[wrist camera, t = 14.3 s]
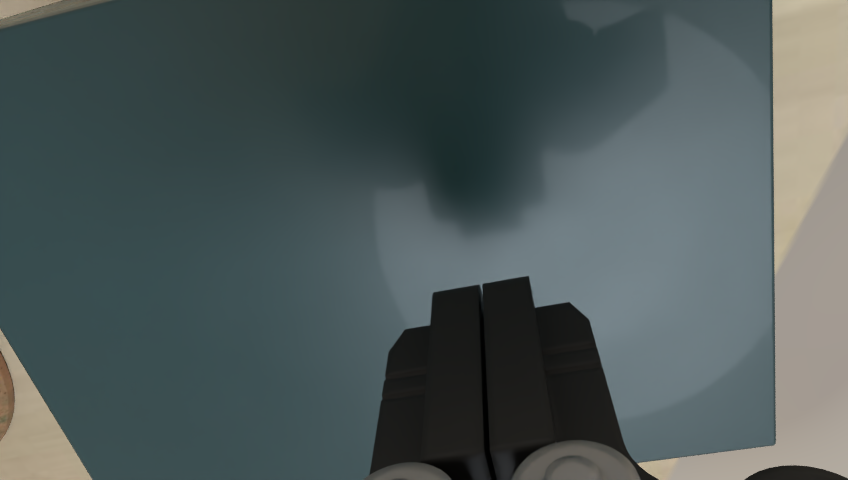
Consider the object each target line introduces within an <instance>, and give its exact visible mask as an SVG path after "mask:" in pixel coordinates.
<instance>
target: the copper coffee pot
mask: <svg viewBox="0 0 848 480" xmlns="http://www.w3.org/2000/svg"><path fill="white" fill-rule="evenodd" d="M13 410H14V391H13V385H12V381H11V377H10V374H9V371H8V368H7V366H6V363H5V361H4V359H3V357H2V355H1V353H0V440H1V439H2V438H3V436H4V435H5V433H6V431H7V430H8V427H9V425H10V423H11V419H12V416H13Z"/></svg>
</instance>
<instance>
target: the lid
mask: <svg viewBox="0 0 848 480" xmlns="http://www.w3.org/2000/svg"><path fill="white" fill-rule="evenodd" d="M525 276H529V279H530V284H531V289H532V294H533V300H534V305H535V308H536V307H542V306H548V305H554V304H560V303H566V302H570V303H571V304H572V305H573V306H574V307H576V308H577V309H578V310H579V311H580V312H581V313H582V314H584V315H585V316H586V317H587V318H588V319H589V321H590V324H591V328H592V332H593V335H594V339H595V342H596V347H597V349H598V353H599V356H600V360H601V364H602V367H603V370H604V374H605V377H606V381H607V385H608V388H609V392H610V395H611V399H612V402H613V406H614V409H615V413H616V416H617V420H618V423H619V427H620V431H621V434H622V438H623V441H624V444H625V446H626V449H627V451H628V453H629V454H630V456H631V457H632V459H633V460H634V461H635V462H636V463H640V462H648V461H656V460H663V459H671V458H679V457H687V456H694V455H702V454H710V453H717V452H725V451H733V450H741V449H748V448H756V447H764V446H772V445H774V444H775V442H776V438H775V437H776V431H775V430H776V424H775V423H776V421H775V303H774V302H775V298H774V297H775V293H774V166H773V38H772V0H103V1H99V2H95V3H91V4H87V5H83V6H79V7H76V8H72V9H68V10H64V11H60V12H56V13H52V14H48V15H44V16H40V17H36V18H32V19H29V20H25V21H21V22H17V23H13V24H9V25H5V26H1V27H0V329H1V330H2V332H3V334H4V335H5V337H6V339H7V340H8V342H9V344H10V345H11V347H12V348H13V350H14V352H15V353H16V355H17V357H18V358H19V360H20V362H21V363H22V365H23V367H24V368H25V370H26V371H27V373H28V375H29V376H30V378H31V380H32V381H33V383H34V385H35V386H36V388H37V389H38V391H39V393H40V394H41V396H42V398H43V399H44V401H45V403H46V404H47V406H48V407H49V409H50V411H51V412H52V414H53V416H54V417H55V419H56V421H57V422H58V424H59V426H60V427H61V429H62V430H63V432H64V434H65V435H66V437H67V439H68V440H69V442H70V444H71V445H72V447H73V448H74V450H75V452H76V453H77V455H78V457H79V458H80V460H81V462H82V463H83V465H84V466H85V468H86V470H87V471H88V473H89V475H90V476H91V478H92V480H363V479H365V478H366V477H367V476H369V475H370V468H371V462H372V455H373V449H374V443H375V436H376V430H377V423H378V417H379V411H380V404H381V401H382V391H383V385H384V380H386V378H385V372H386V366H387V359H388V353H389V351H390V349H391V348H392V347H393V345H394V344H395V342H396V341H397V340H398V338H399V337H400V335H401V334H402V333H403V331H404V330H405V329H410V328H416V327H422V326H428V325H430V320H431V306H432V295H433V293H434V292H438V291H444V290H450V289H456V288H462V287H467V286H473V285H480V288H481V291H482V294H483V290H482V285H483V284H484V283H490V282H495V281H501V280H507V279H513V278H519V277H525Z"/></svg>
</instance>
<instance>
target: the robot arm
mask: <svg viewBox="0 0 848 480" xmlns="http://www.w3.org/2000/svg"><path fill="white" fill-rule="evenodd" d="M482 290H483V294H482V291H481V288H480V285H473V286H467V287H462V288H456V289H450V290H444V291H438V292H434V293H433V295H432V306H431V320H430V325H428V326H422V327H416V328H410V329H405V330H404V331H403V333H402V334H401V335H400V337H399V338H398V340H397V341H396V342H395V344H394V345H393V347H392V348H391V349H390V351H389V353H388V359H387V366H386V372H385V378H386V380H384V385H383V391H382V401H381V404H380V411H379V417H378V423H377V430H376V436H375V443H374V449H373V455H372V462H371V468H370V475H369V476H367V477H366V478H365V479H363V480H658V479H657V478H655V477H653V476H652V475H650V474H648V473H647V472H646V471H645V470H643V469H642V468H641V467H640V466H639V465H638V464H637V463H636V462H635V461H634V460H633V459H632V457H631V456H630V454H629V453H628V451H627V449H626V446H625V444H624V441H623V438H622V434H621V431H620V427H619V423H618V420H617V416H616V413H615V409H614V406H613V402H612V399H611V395H610V392H609V388H608V385H607V381H606V377H605V374H604V370H603V367H602V364H601V360H600V356H599V353H598V349H597V347H596V342H595V339H594V335H593V332H592V328H591V324H590V321H589V319H588V318H587V317H586V316H585V315H584V314H582V313H581V312H580V311H579V310H578V309H577V308H576V307H574V306H573V305H572V304H571V303H570V302H566V303H560V304H554V305H548V306H542V307H536V308H535V305H534V300H533V294H532V289H531V284H530V279H529V276H525V277H519V278H513V279H507V280H501V281H495V282H490V283H484V284H483V285H482ZM745 480H848V479H847V478H845V477H843V476H841V475H838V474H836V473H833V472H830V471H826V470H823V469H818V468H813V467H807V466H779V467H773V468H768V469H765V470H762V471H759V472H757V473H755V474H753V475H751V476H749V477H748V478H746V479H745Z"/></svg>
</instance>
